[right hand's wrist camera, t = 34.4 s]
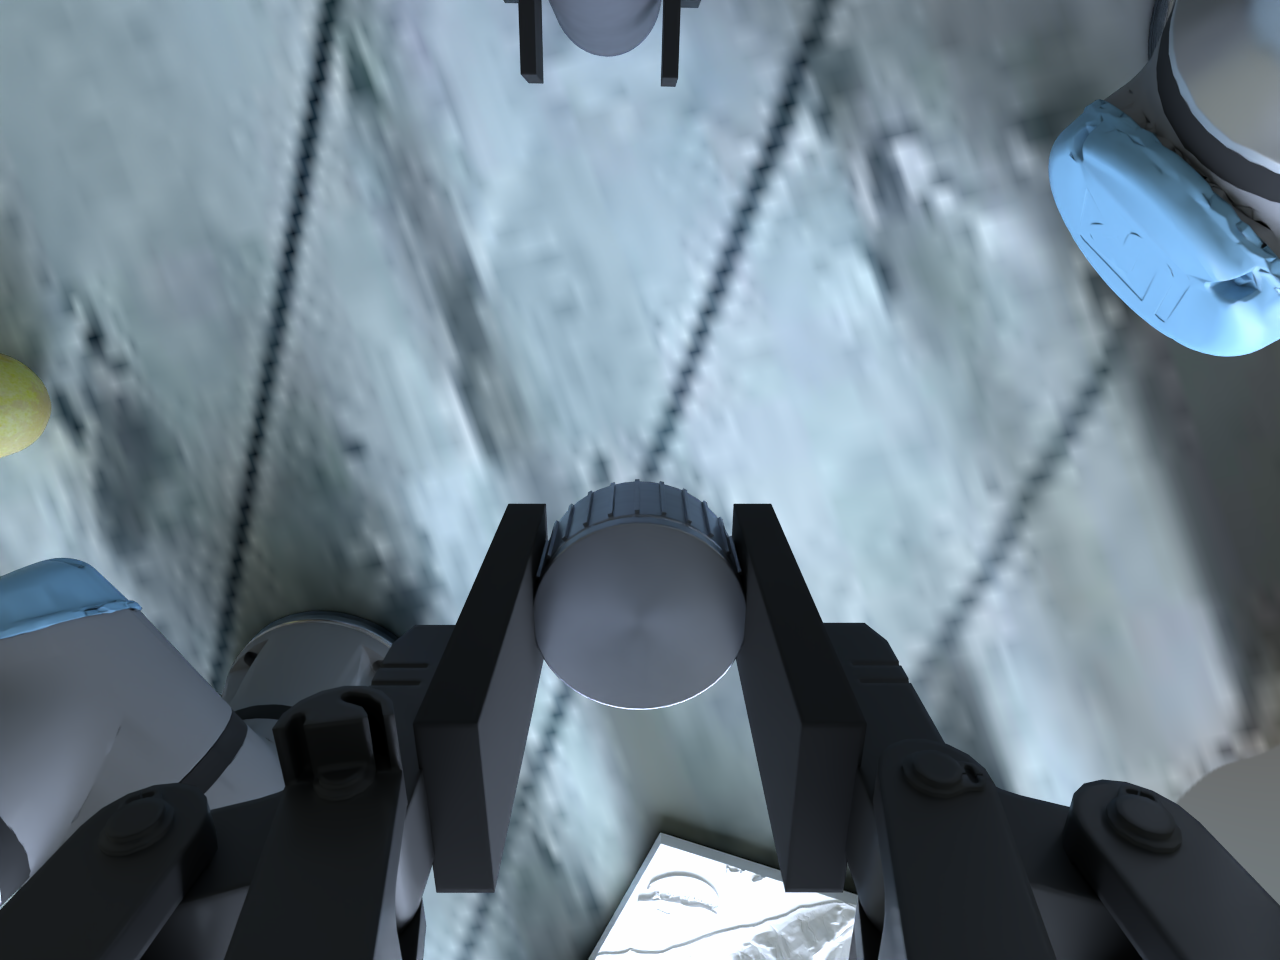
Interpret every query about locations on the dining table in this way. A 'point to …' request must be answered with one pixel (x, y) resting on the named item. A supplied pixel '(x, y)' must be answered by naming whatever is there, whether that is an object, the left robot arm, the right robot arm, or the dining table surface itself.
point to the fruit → (21, 406)
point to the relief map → (722, 912)
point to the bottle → (606, 23)
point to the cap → (639, 597)
